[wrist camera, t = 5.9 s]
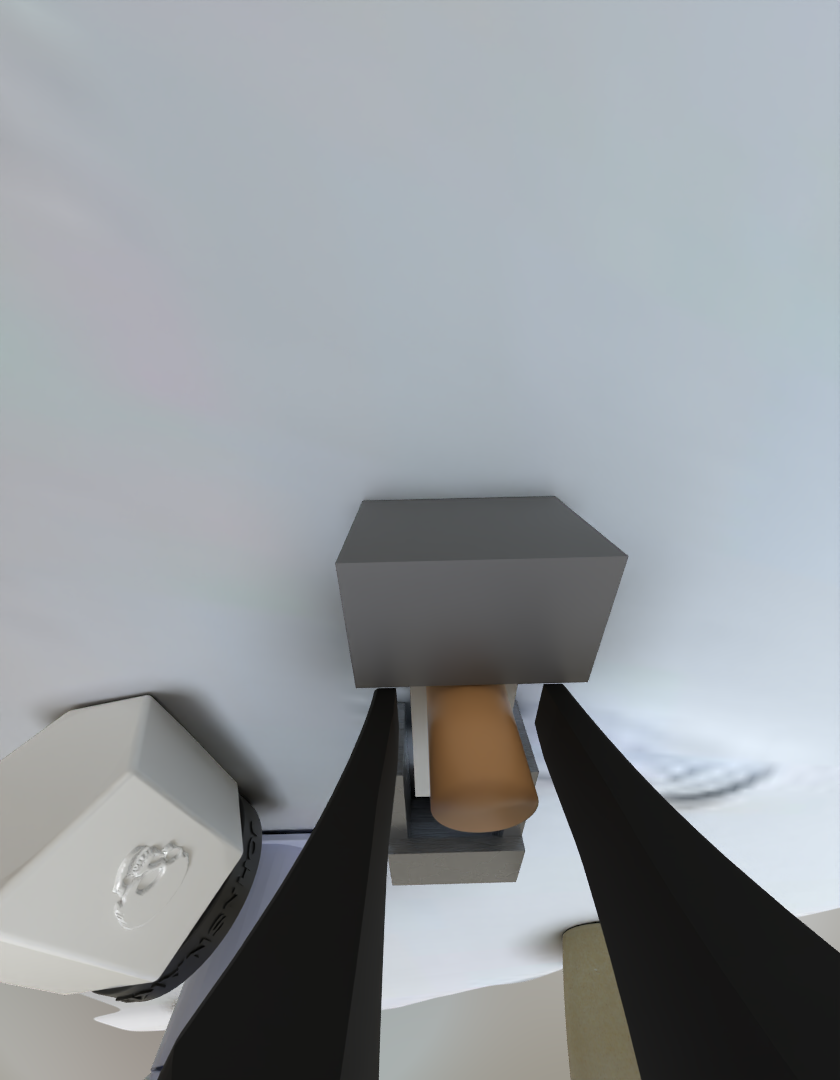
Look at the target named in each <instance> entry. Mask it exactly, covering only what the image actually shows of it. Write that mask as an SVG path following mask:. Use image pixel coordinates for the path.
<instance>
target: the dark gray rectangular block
mask: <svg viewBox="0 0 840 1080" xmlns="http://www.w3.org/2000/svg"><path fill="white" fill-rule="evenodd" d="M627 559H628V555H626V554H625V553H624V552H623V551H621V550H620V549H619V548H618V547H617V546H615V545H614V544H613V543H612V542H610V541H609V540H608V539H607V538H605V537H604V536H603V535H602V534H601V533H599V532H598V531H597V530H596V529H594V528H593V527H592V526H591V525H590V524H588V523H587V522H586V521H585V520H583V519H582V518H581V517H580V516H579V515H577V514H576V513H575V512H574V511H572V510H571V509H570V508H569V507H568V506H566V505H565V504H564V503H563V502H561V501H560V500H559V499H558V498H557V497H555V496H551V497H508V498H466V499H424V500H381V501H362V504H361V506H360V508H359V511H358V513H357V515H356V517H355V520H354V522H353V524H352V526H351V529H350V531H349V533H348V536H347V538H346V540H345V542H344V545H343V547H342V549H341V551H340V554H339V556H338V558H337V561H336V563H335V565H336V571H337V577H338V583H339V589H340V595H341V601H342V607H343V613H344V619H345V625H346V631H347V637H348V643H349V649H350V655H351V661H352V667H353V673H354V680H355V686H356V688H376V687H415V686H454V685H492V684H531V683H570V682H588V680H589V677H590V673H591V670H592V667H593V664H594V661H595V658H596V655H597V652H598V649H599V646H600V643H601V639H602V636H603V633H604V630H605V627H606V624H607V621H608V618H609V615H610V612H611V609H612V605H613V602H614V599H615V596H616V593H617V590H618V587H619V584H620V581H621V578H622V575H623V571H624V568H625V565H626V562H627Z"/></svg>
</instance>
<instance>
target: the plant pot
mask: <svg viewBox="0 0 840 1080" xmlns="http://www.w3.org/2000/svg"><path fill="white" fill-rule="evenodd" d="M562 941H563V977H564V1000H565V1017H566V1031H567V1044H568V1056H569V1067H570V1077H571V1080H641V1077H640V1073H639V1069H638V1065H637V1061H636V1057H635V1053H634V1049H633V1045H632V1041H631V1037H630V1033H629V1029H628V1024H627V1021H626V1017H625V1013H624V1009H623V1005H622V1002H621V998H620V994H619V990H618V987H617V983H616V979H615V975H614V971H613V968H612V964H611V960H610V956H609V953H608V949H607V946H606V942H605V939H604V935H603V932H602V928H601V924H600V923H592V924H586V925H581V926H577V927H574V928H572V929H569V930H567V931H566V932H565V933H564V934H563V937H562Z"/></svg>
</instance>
